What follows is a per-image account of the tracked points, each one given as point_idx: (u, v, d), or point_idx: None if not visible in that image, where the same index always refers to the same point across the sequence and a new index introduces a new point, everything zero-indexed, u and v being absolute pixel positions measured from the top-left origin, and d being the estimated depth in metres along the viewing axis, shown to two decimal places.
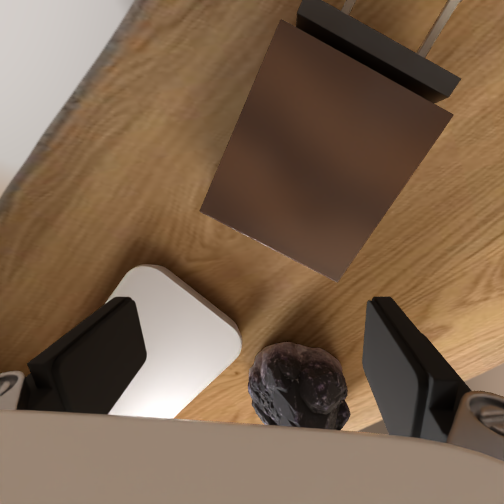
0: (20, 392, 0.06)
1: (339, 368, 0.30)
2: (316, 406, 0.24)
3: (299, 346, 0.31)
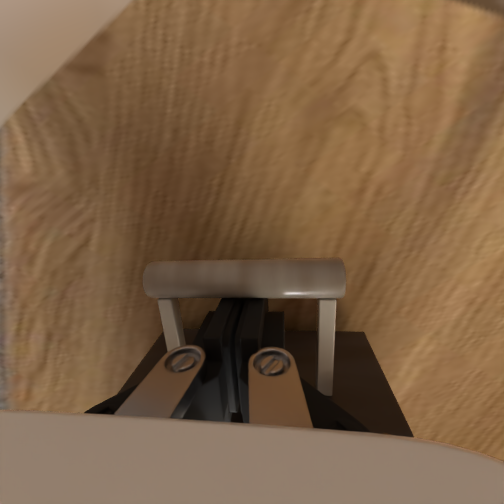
0: (193, 378, 0.06)
1: None
2: None
3: None
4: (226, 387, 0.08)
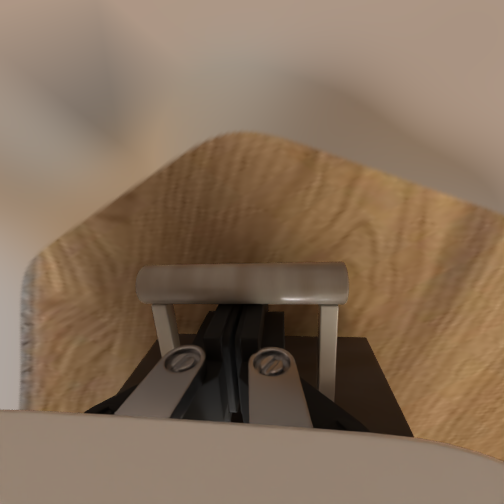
0: (193, 378, 0.06)
1: None
2: None
3: None
4: (226, 387, 0.08)
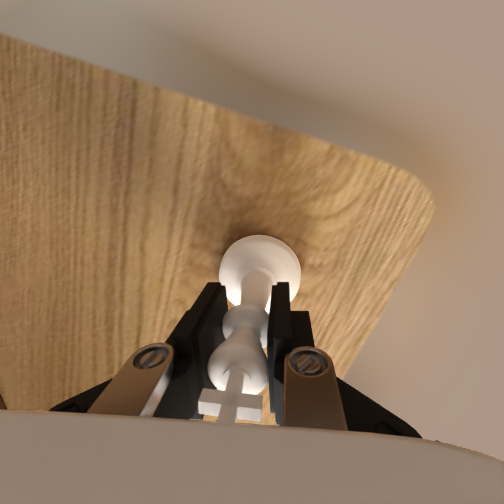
0: (163, 372, 0.06)
1: None
2: None
3: None
4: (197, 384, 0.08)
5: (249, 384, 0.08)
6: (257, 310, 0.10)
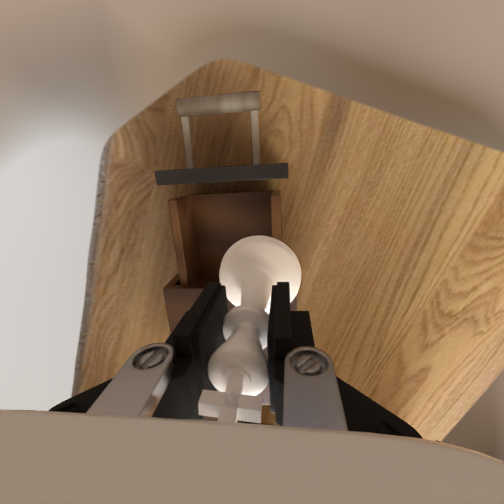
0: (163, 372, 0.06)
1: None
2: None
3: None
4: (197, 384, 0.08)
5: (249, 385, 0.08)
6: (257, 311, 0.10)
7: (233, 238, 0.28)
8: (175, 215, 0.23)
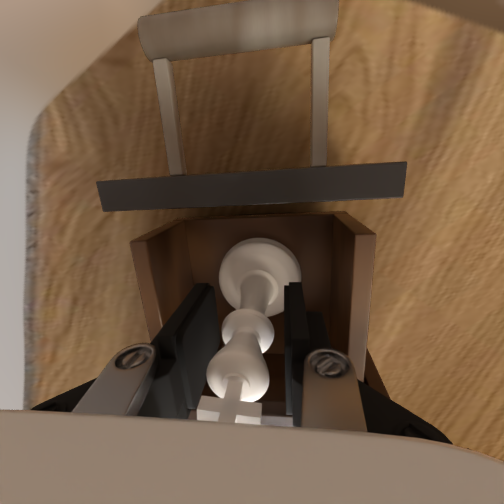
0: (147, 371, 0.07)
1: None
2: None
3: None
4: (182, 384, 0.08)
5: (248, 391, 0.08)
6: (257, 315, 0.10)
7: None
8: (146, 272, 0.11)
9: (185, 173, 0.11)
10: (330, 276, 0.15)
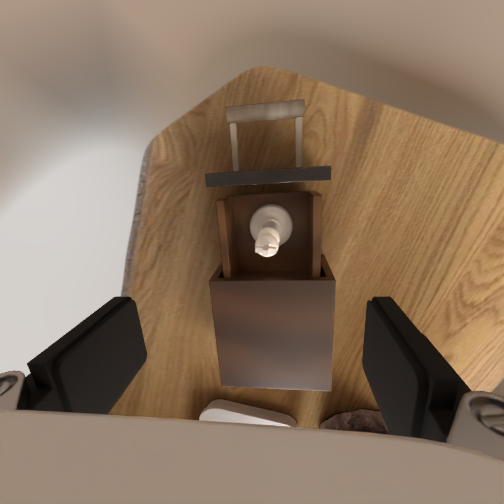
0: (20, 392, 0.06)
1: (382, 423, 0.36)
2: None
3: (344, 415, 0.38)
4: None
5: None
6: (272, 229, 0.24)
7: None
8: (222, 214, 0.25)
9: (239, 170, 0.25)
10: (308, 224, 0.29)
